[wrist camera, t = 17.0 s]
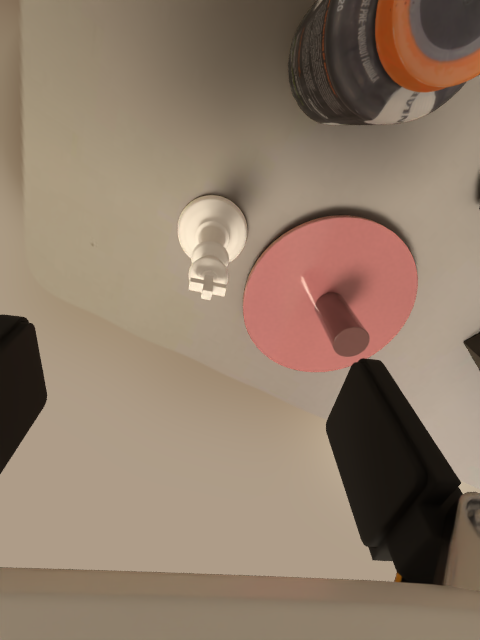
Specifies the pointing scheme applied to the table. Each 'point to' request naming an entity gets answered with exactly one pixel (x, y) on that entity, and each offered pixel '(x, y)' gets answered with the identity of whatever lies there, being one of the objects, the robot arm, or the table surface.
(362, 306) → the pink disc with peg
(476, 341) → the picture frame
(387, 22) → the pill bottle
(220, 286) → the chess piece
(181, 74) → the table surface
